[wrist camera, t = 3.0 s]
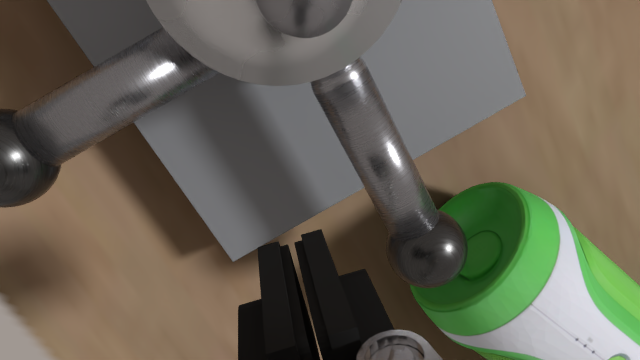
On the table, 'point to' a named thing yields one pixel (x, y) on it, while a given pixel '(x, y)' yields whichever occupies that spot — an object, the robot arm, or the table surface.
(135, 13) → the stand
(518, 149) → the table surface
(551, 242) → the speaker
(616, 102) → the table surface
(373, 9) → the capstan
